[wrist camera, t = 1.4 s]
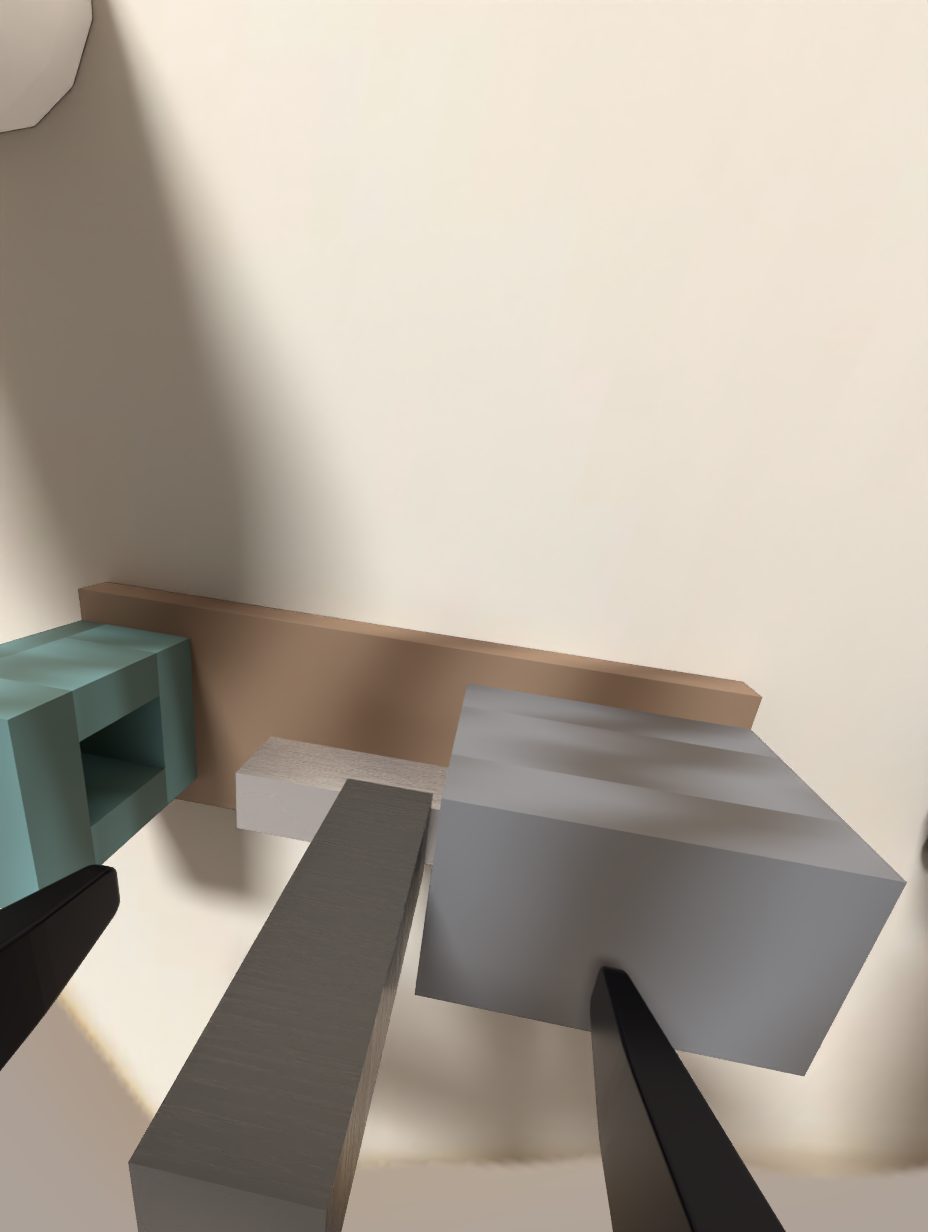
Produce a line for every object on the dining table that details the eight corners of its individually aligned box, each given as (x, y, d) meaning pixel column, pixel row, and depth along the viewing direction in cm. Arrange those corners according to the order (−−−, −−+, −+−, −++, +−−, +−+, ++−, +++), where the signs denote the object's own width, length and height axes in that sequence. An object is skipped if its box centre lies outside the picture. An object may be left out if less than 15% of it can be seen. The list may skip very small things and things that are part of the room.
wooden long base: (743, 681, 13) (932, 834, 7) (679, 869, 15) (787, 1107, 9) (107, 582, 14) (-171, 643, 8) (126, 767, 16) (-88, 920, 10)
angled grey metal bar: (761, 808, 11) (1268, 1441, 4) (733, 883, 12) (1109, 1542, 4) (271, 723, 12) (-122, 1101, 4) (270, 797, 12) (-71, 1232, 5)
